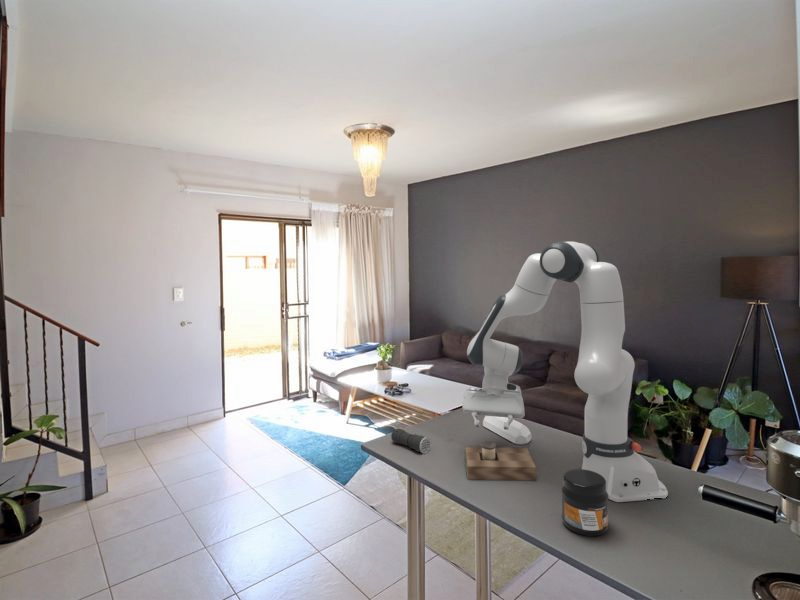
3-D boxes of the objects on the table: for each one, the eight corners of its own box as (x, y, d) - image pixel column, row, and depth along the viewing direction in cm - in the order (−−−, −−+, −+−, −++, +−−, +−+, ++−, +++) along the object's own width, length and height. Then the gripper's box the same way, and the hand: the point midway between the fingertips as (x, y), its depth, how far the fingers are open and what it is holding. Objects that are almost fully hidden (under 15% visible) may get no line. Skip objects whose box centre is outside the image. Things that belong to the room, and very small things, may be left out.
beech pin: (494, 466, 138) (494, 441, 138) (496, 472, 134) (495, 447, 134) (481, 465, 139) (481, 441, 138) (483, 471, 135) (482, 446, 134)
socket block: (527, 459, 142) (526, 447, 142) (536, 480, 128) (535, 467, 128) (465, 458, 144) (465, 447, 144) (467, 479, 130) (467, 466, 130)
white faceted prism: (475, 417, 173) (513, 437, 151) (488, 405, 176) (528, 424, 154) (483, 431, 175) (522, 453, 153) (496, 419, 178) (536, 440, 156)
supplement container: (591, 544, 98) (591, 493, 98) (552, 522, 107) (552, 475, 106) (617, 527, 104) (617, 479, 103) (578, 508, 113) (578, 463, 112)
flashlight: (389, 444, 159) (389, 429, 159) (400, 439, 163) (399, 425, 163) (420, 455, 148) (420, 440, 148) (431, 450, 152) (430, 435, 152)
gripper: (463, 383, 150) (457, 420, 142) (524, 386, 143) (522, 425, 134) (466, 392, 154) (461, 428, 146) (525, 396, 147) (524, 434, 139)
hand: (491, 427), depth 140 cm, fingers open, 8 cm apart
